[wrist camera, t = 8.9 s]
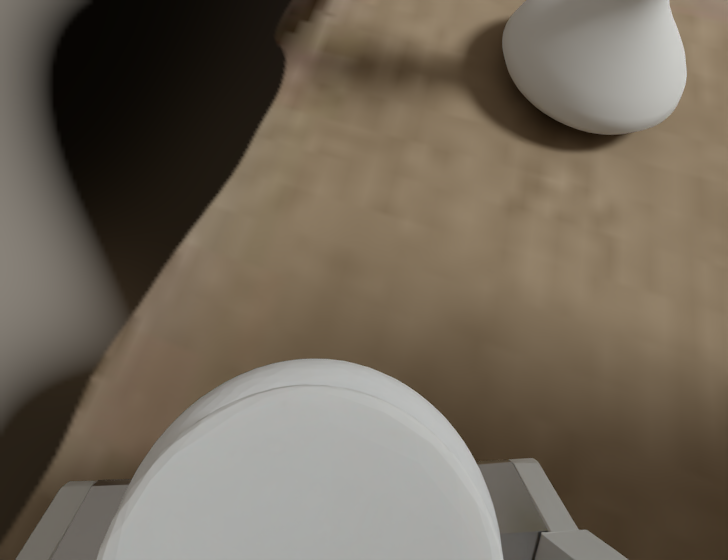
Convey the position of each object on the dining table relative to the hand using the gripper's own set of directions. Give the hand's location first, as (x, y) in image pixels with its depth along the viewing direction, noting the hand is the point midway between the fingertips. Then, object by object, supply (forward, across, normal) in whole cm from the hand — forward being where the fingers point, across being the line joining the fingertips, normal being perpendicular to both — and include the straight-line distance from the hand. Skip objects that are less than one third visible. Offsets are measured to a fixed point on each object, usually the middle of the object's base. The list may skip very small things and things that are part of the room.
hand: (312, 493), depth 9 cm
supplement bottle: (+4, 0, +4) cm, 6 cm away
